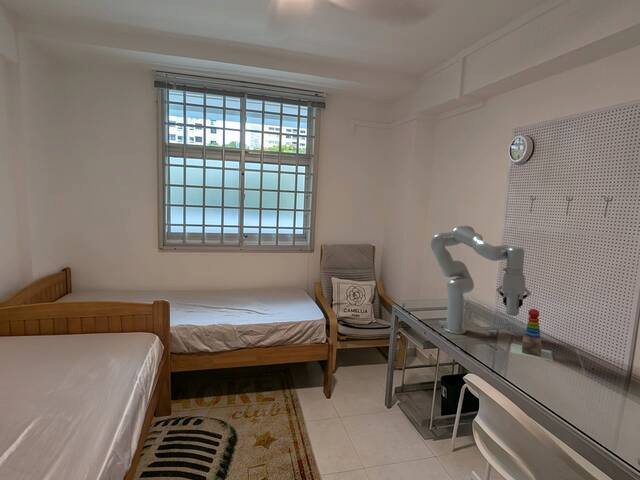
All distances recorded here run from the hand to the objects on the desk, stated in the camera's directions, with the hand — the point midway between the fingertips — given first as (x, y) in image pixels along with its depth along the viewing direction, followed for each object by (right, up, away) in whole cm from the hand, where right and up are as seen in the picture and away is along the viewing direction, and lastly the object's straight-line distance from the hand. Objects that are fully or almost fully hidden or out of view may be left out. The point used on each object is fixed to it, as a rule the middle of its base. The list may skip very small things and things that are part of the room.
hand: (512, 305), depth 175 cm
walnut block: (+9, -23, -1) cm, 25 cm away
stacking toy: (+19, -23, +14) cm, 33 cm away
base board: (+9, -24, -1) cm, 26 cm away
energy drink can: (0, -5, 0) cm, 5 cm away
